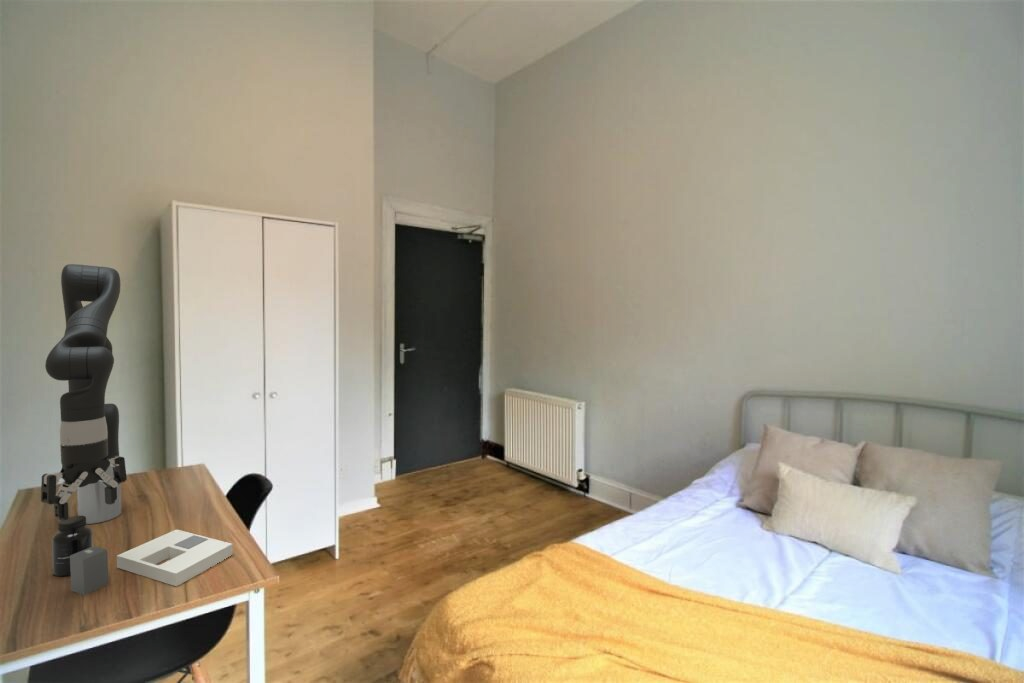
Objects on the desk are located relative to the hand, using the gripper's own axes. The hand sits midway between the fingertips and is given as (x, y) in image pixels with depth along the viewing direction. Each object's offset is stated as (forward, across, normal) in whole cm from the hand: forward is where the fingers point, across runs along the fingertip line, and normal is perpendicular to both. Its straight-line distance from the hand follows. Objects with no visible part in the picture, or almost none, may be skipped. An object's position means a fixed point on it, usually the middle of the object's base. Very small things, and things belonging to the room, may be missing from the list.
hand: (87, 511), depth 101 cm
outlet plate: (+17, -14, +7) cm, 23 cm away
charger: (+17, 0, 0) cm, 17 cm away
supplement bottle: (+18, -3, -12) cm, 21 cm away
